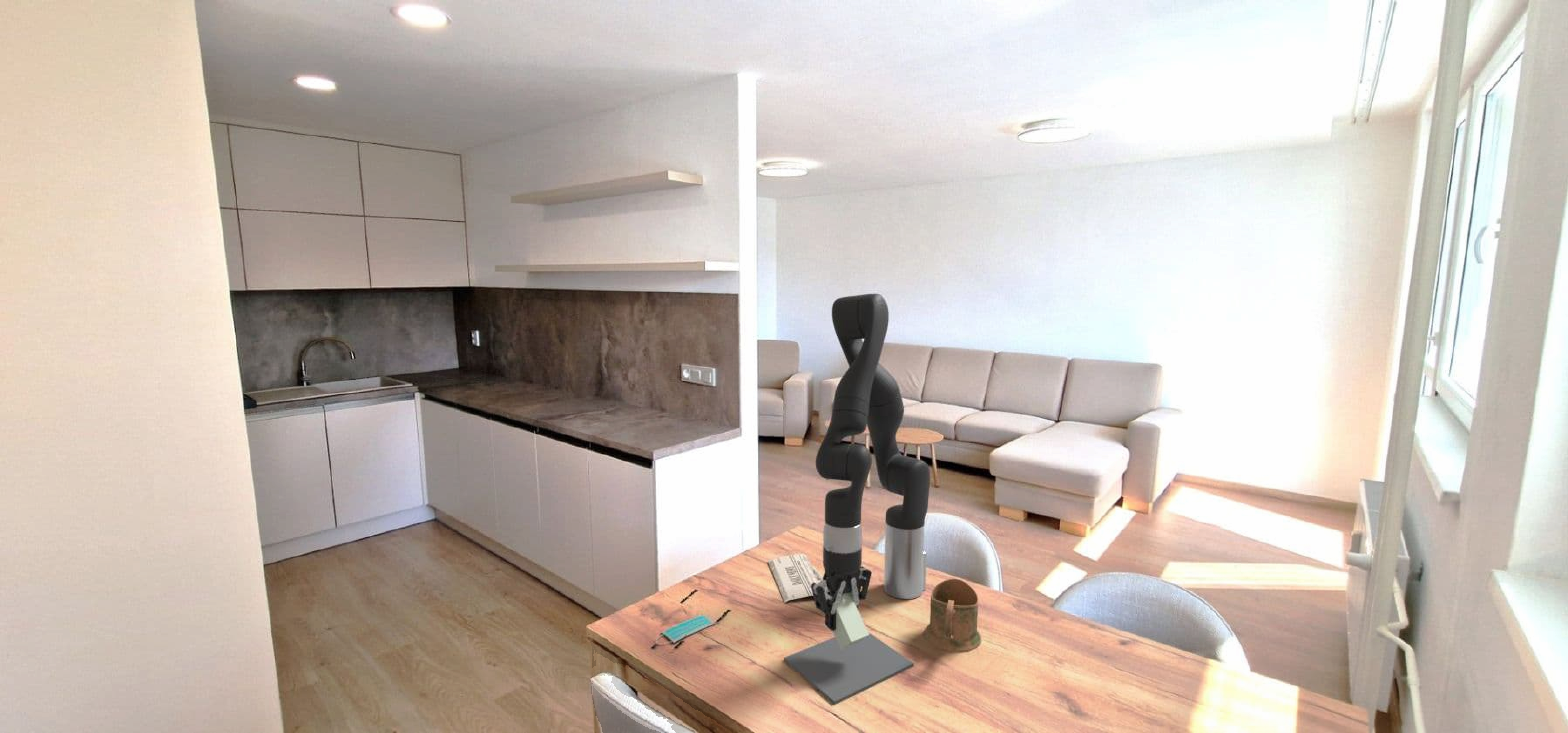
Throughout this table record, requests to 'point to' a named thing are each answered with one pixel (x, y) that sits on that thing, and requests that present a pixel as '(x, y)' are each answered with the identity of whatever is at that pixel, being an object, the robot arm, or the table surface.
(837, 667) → the mat
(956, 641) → the mug
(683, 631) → the surgical mask
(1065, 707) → the table surface
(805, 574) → the newspaper
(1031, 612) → the table surface
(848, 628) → the block
